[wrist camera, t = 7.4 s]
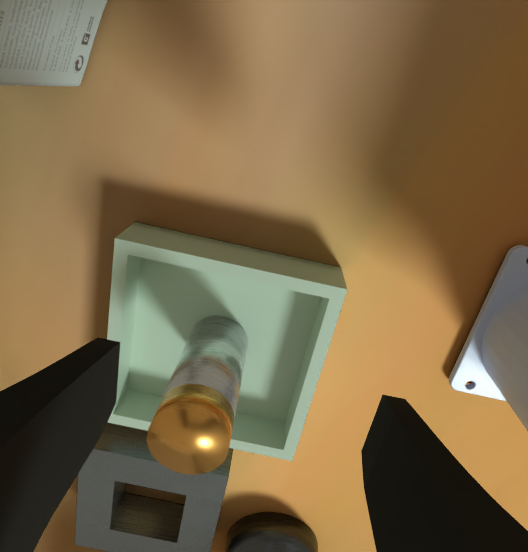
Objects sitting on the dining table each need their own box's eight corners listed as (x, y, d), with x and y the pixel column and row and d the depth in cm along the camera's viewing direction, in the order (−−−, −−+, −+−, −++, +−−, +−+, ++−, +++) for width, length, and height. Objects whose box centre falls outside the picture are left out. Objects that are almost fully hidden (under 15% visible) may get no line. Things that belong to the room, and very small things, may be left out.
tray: (341, 267, 21) (347, 289, 18) (292, 426, 24) (292, 461, 22) (135, 221, 20) (114, 238, 18) (119, 390, 24) (100, 420, 22)
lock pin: (257, 329, 22) (241, 429, 15) (235, 374, 23) (211, 484, 16) (201, 306, 21) (161, 398, 15) (182, 353, 22) (136, 457, 16)
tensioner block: (350, 466, 25) (357, 508, 23) (304, 581, 30) (306, 627, 27) (99, 413, 25) (77, 450, 22) (90, 538, 29) (70, 580, 27)
